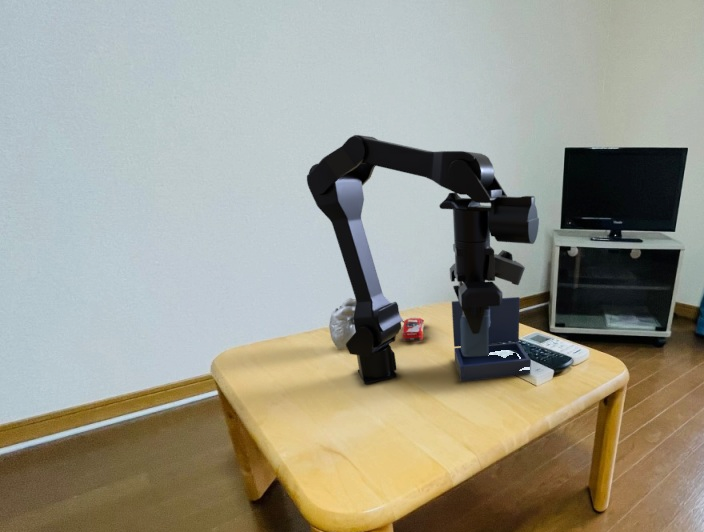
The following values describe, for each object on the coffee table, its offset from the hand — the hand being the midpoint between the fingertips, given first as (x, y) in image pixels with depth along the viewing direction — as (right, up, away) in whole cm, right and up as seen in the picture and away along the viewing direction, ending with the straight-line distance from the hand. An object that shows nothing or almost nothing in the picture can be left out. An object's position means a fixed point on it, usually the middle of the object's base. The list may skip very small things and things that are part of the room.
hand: (474, 330), depth 69 cm
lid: (+1, +3, +16) cm, 16 cm away
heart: (-33, -2, +26) cm, 42 cm away
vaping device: (0, -4, +1) cm, 5 cm away
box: (+2, -7, +15) cm, 17 cm away
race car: (-19, +1, +32) cm, 37 cm away
